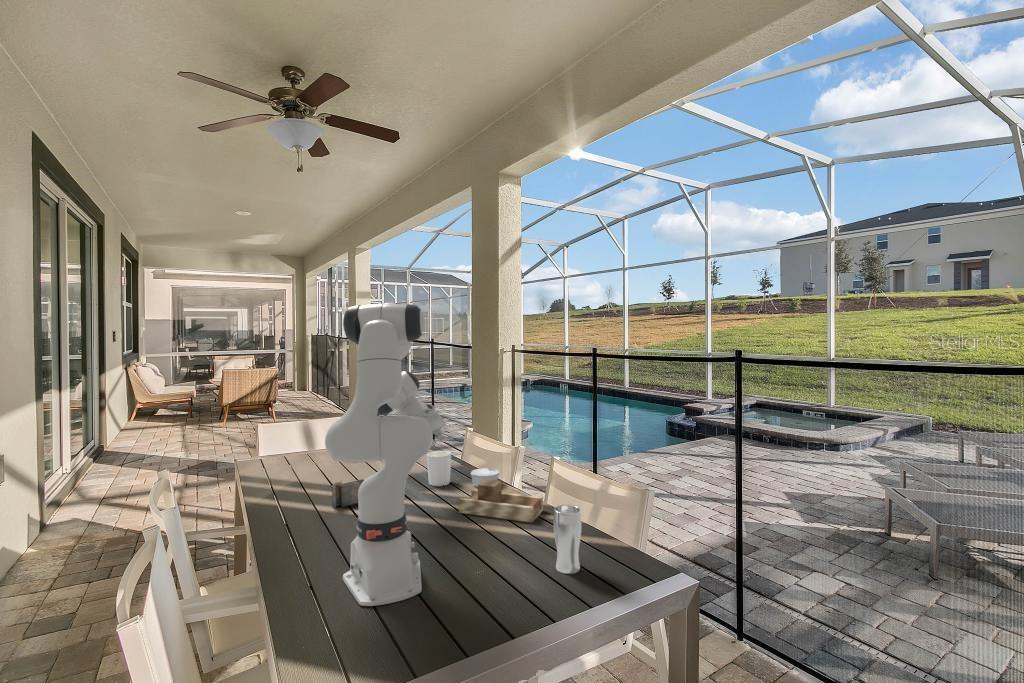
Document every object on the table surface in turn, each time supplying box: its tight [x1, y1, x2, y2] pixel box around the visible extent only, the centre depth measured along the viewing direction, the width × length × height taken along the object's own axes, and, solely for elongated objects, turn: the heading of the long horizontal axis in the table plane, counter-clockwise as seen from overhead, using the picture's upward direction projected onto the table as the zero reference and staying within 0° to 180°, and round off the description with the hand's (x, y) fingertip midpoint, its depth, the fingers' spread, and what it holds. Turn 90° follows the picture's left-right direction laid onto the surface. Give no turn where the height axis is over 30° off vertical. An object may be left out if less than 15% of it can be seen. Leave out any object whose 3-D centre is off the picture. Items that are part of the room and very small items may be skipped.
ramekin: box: [470, 467, 500, 488], centre depth 189 cm, size 11×11×5 cm
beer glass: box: [553, 504, 582, 575], centre depth 120 cm, size 7×7×15 cm
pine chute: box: [458, 488, 544, 523], centre depth 160 cm, size 26×11×4 cm, turn 69°
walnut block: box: [477, 480, 503, 503], centre depth 161 cm, size 6×6×8 cm
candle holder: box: [426, 450, 452, 487], centre depth 192 cm, size 10×10×12 cm
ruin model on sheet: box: [331, 479, 365, 509], centre depth 169 cm, size 11×3×10 cm, turn 133°
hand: (439, 443), depth 168 cm, fingers open, 5 cm apart
